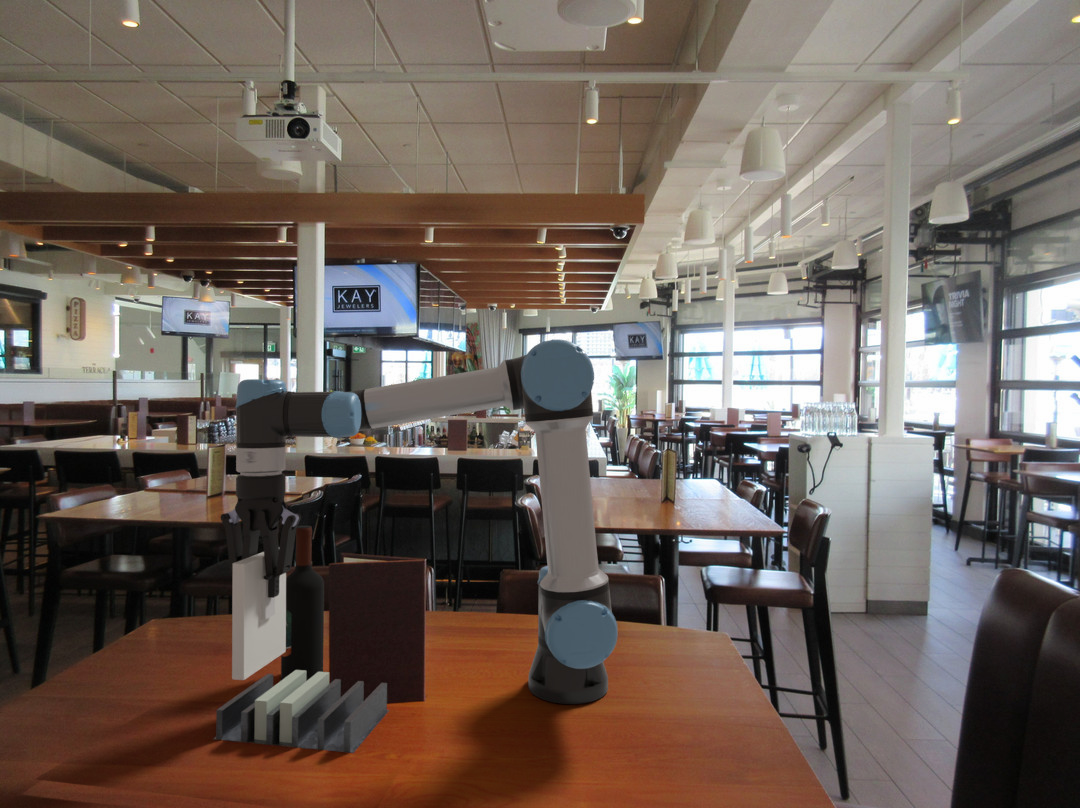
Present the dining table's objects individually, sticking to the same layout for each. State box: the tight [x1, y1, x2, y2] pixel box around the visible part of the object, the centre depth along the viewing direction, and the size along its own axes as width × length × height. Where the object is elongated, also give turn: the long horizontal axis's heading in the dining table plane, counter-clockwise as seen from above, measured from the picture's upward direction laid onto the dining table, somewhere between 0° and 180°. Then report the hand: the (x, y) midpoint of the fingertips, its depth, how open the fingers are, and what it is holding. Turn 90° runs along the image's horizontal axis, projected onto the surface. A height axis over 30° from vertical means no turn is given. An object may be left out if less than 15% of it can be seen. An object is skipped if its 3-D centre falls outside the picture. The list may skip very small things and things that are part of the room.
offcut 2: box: [280, 671, 330, 743], centre depth 106 cm, size 2×12×6 cm, turn 171°
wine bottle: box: [280, 525, 325, 681], centre depth 125 cm, size 8×8×30 cm
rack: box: [213, 673, 390, 754], centre depth 106 cm, size 23×14×6 cm, turn 81°
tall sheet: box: [231, 551, 287, 681], centre depth 108 cm, size 2×12×18 cm, turn 171°
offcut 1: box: [254, 670, 307, 740], centre depth 107 cm, size 2×12×6 cm, turn 171°
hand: (260, 616), depth 108 cm, fingers closed on tall sheet, 2 cm apart
